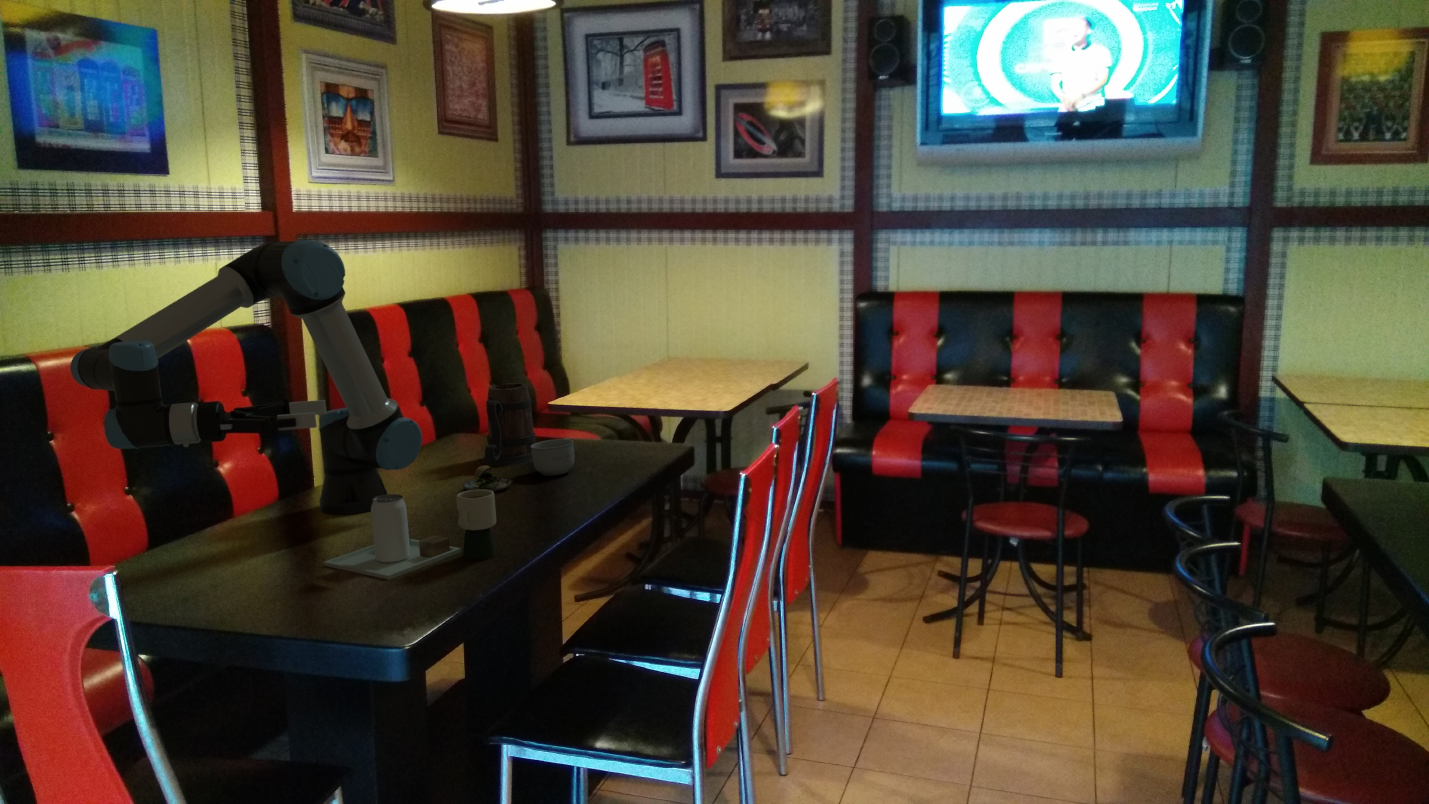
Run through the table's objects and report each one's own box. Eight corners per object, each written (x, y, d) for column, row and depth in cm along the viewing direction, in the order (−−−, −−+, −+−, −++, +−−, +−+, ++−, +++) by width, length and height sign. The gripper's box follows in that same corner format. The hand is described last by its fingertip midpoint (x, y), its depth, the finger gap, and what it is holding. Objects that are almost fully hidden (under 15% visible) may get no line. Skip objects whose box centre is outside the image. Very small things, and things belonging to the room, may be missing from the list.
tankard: (496, 451, 309) (491, 380, 306) (553, 451, 306) (548, 380, 302) (460, 471, 287) (453, 395, 283) (521, 471, 283) (515, 395, 280)
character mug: (476, 549, 218) (471, 486, 216) (509, 551, 217) (504, 487, 214) (449, 567, 208) (444, 500, 206) (484, 569, 206) (479, 501, 204)
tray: (324, 569, 210) (323, 561, 210) (398, 543, 225) (397, 536, 224) (388, 583, 200) (388, 575, 200) (461, 555, 215) (461, 548, 215)
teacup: (556, 480, 273) (554, 448, 272) (523, 475, 279) (521, 444, 277) (591, 467, 285) (589, 437, 283) (559, 464, 290) (557, 434, 289)
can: (400, 564, 208) (395, 502, 206) (369, 563, 210) (363, 502, 208) (416, 553, 215) (411, 493, 213) (386, 552, 216) (380, 493, 214)
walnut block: (420, 555, 213) (418, 540, 213) (435, 550, 217) (434, 535, 216) (434, 558, 211) (433, 543, 211) (450, 552, 214) (448, 538, 214)
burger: (478, 499, 258) (475, 468, 257) (454, 491, 267) (451, 461, 266) (522, 489, 266) (520, 459, 265) (497, 481, 275) (495, 452, 274)
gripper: (217, 429, 216) (331, 420, 220) (185, 457, 192) (313, 446, 196) (212, 391, 215) (327, 383, 219) (180, 414, 191) (309, 404, 195)
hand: (321, 413), depth 208 cm, fingers open, 13 cm apart
